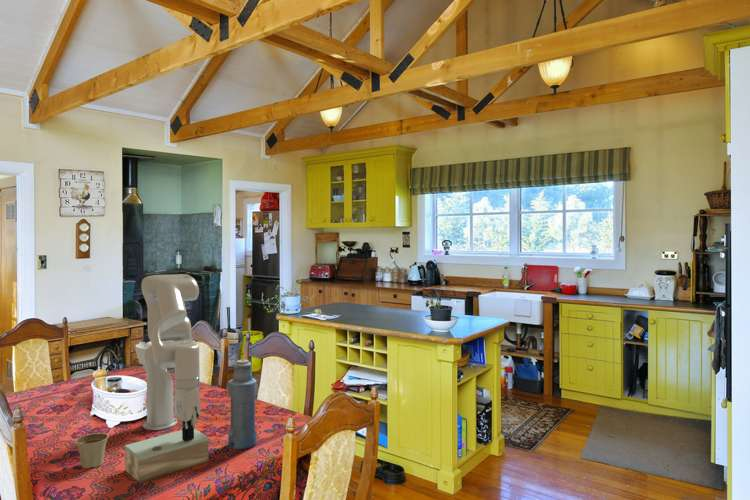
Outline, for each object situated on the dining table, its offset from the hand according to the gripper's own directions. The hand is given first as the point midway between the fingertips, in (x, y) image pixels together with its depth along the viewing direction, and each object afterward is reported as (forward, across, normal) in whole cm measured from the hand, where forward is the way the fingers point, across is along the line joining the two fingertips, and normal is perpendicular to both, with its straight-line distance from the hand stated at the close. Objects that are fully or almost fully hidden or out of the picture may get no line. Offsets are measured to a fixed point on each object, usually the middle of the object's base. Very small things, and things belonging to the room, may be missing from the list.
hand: (188, 439), depth 166 cm
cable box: (+8, -4, -5) cm, 11 cm away
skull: (+8, -90, +25) cm, 94 cm away
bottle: (+8, -2, +21) cm, 23 cm away
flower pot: (+8, -22, -22) cm, 32 cm away
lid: (+1, -4, -5) cm, 7 cm away
